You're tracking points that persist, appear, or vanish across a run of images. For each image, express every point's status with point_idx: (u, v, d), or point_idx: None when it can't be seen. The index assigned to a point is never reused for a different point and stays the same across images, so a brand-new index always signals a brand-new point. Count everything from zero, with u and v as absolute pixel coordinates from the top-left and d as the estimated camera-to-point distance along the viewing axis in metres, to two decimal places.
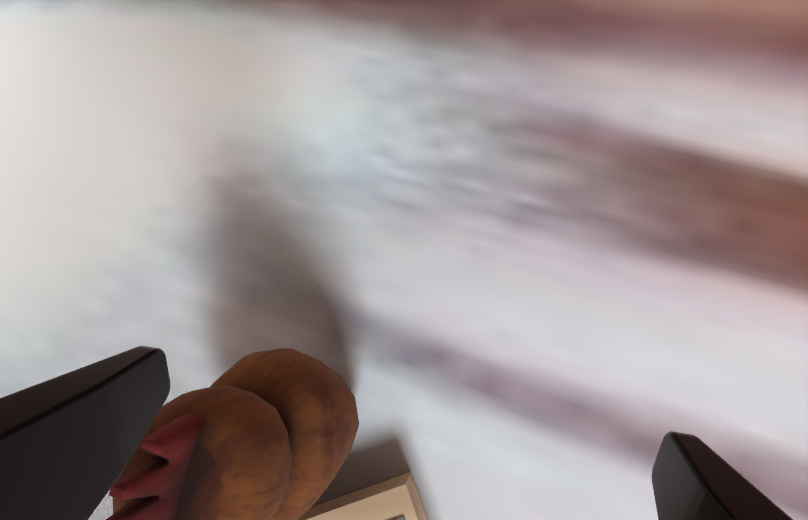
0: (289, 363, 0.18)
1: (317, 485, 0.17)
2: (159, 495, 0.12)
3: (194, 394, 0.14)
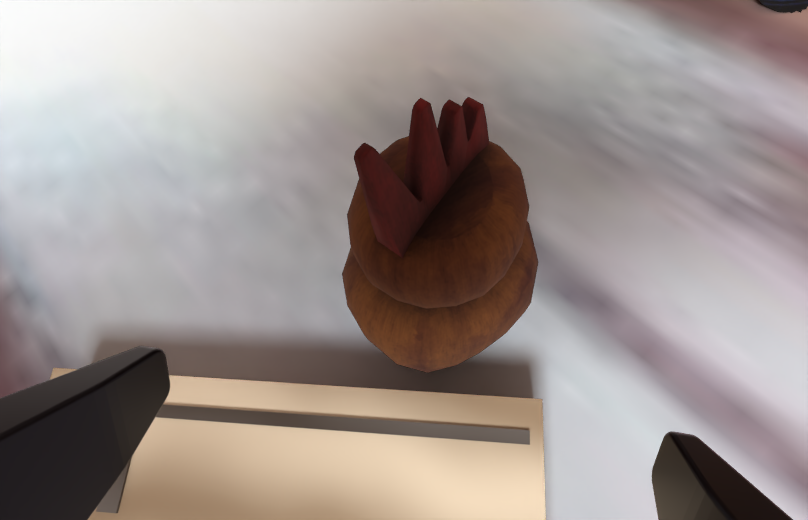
0: None
1: (495, 321, 0.16)
2: (449, 163, 0.11)
3: None
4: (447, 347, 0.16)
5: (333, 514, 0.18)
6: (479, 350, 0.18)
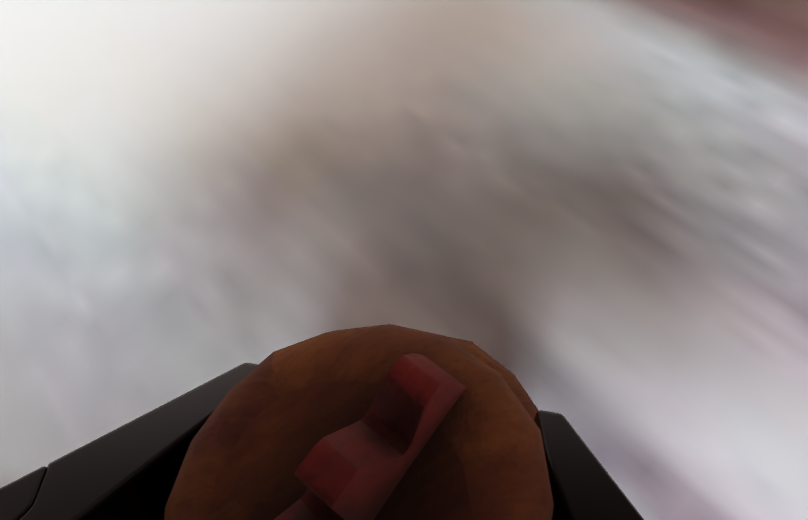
0: (505, 370, 0.10)
1: None
2: None
3: (421, 332, 0.07)
4: None
5: None
6: None
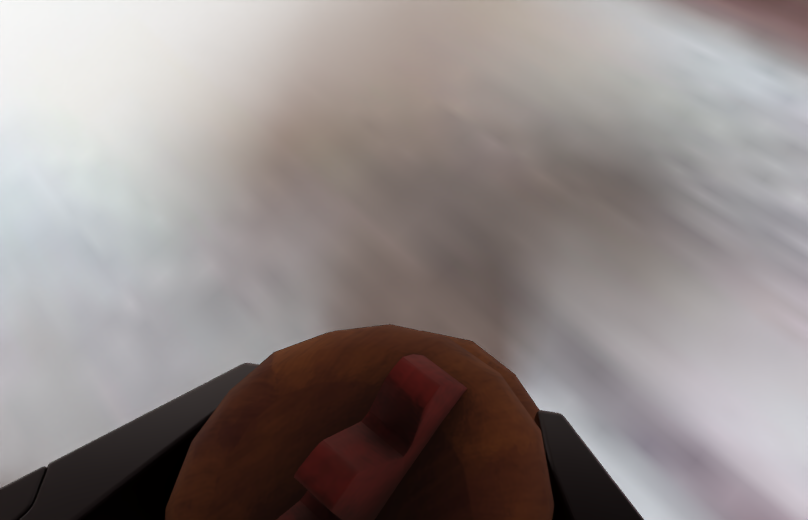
0: (506, 370, 0.10)
1: None
2: None
3: (422, 333, 0.07)
4: None
5: None
6: None
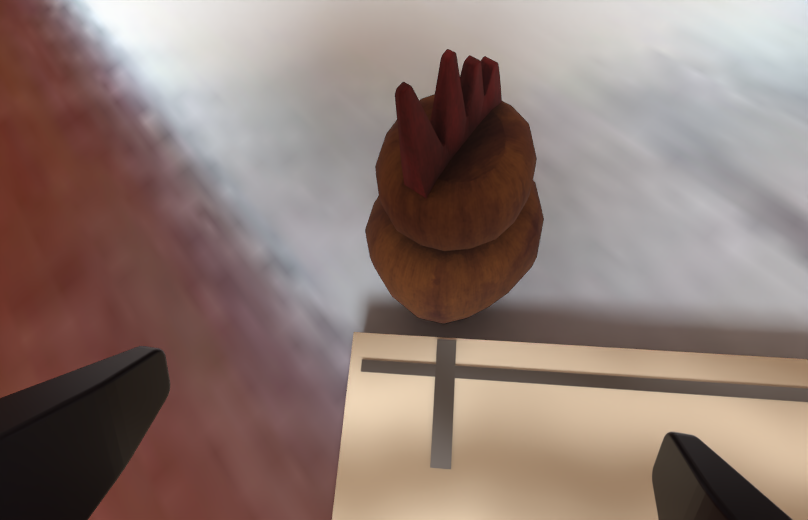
0: None
1: (505, 269, 0.17)
2: (468, 114, 0.13)
3: None
4: (462, 292, 0.17)
5: None
6: (489, 301, 0.19)
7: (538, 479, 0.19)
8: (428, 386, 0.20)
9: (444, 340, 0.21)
